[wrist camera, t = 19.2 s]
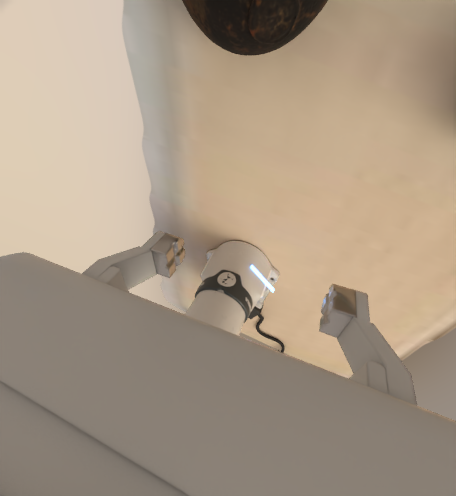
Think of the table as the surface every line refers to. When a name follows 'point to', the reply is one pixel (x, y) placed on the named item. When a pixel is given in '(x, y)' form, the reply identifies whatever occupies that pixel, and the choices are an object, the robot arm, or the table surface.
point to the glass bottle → (253, 22)
